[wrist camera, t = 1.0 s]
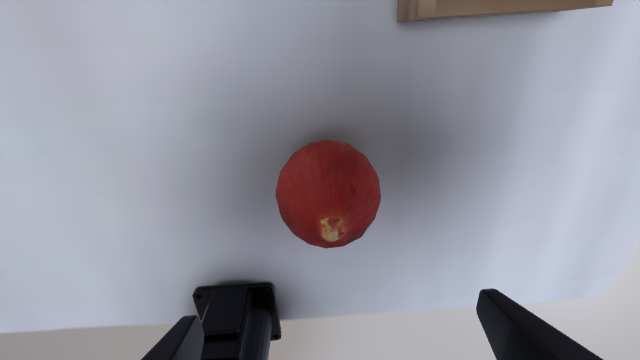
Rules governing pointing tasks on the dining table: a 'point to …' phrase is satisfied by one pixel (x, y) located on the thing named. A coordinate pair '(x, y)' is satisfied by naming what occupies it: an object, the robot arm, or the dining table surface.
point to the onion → (328, 194)
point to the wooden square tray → (486, 8)
